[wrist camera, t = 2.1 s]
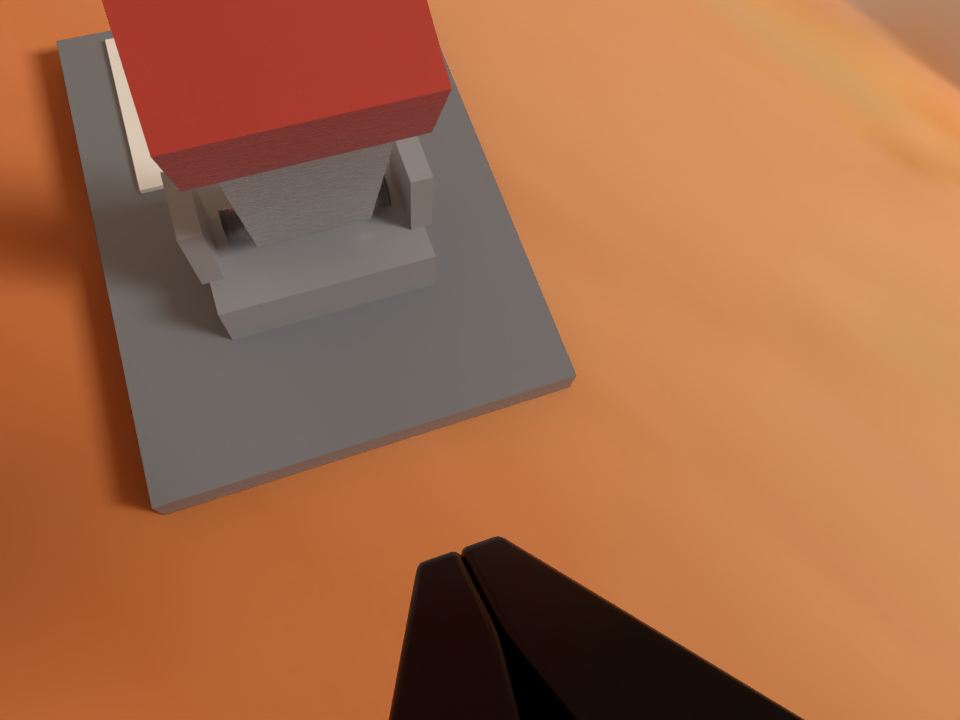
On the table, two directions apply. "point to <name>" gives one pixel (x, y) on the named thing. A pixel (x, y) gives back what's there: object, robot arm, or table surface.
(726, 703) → the robot arm
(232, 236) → the lever
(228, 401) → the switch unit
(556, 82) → the table surface
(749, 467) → the table surface
